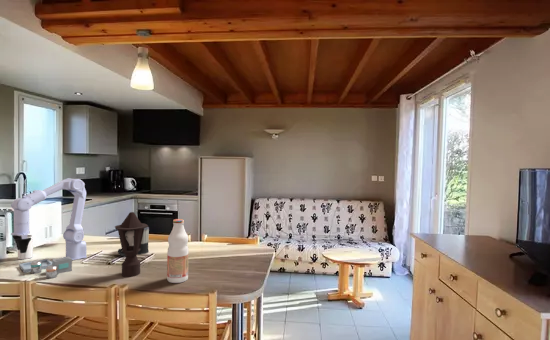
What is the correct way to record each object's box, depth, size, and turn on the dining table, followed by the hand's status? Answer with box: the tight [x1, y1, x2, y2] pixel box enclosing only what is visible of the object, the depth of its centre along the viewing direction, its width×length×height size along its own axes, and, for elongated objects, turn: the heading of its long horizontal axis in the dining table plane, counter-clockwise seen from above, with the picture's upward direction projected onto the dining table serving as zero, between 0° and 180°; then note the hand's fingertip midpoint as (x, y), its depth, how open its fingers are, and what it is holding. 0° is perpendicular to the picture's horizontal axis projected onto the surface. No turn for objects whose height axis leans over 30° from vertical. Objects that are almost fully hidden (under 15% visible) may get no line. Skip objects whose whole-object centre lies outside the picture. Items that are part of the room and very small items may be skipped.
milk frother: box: [117, 226, 150, 257], centre depth 184 cm, size 14×16×15 cm
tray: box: [18, 258, 52, 274], centre depth 158 cm, size 12×12×2 cm
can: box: [17, 234, 34, 261], centre depth 172 cm, size 6×6×12 cm
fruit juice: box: [166, 218, 189, 284], centre depth 146 cm, size 9×9×28 cm
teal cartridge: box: [30, 260, 42, 275], centre depth 151 cm, size 4×4×5 cm
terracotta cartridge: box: [45, 265, 58, 280], centre depth 146 cm, size 4×4×5 cm
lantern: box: [114, 211, 149, 278], centre depth 152 cm, size 15×15×30 cm
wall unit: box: [51, 256, 73, 275], centre depth 153 cm, size 7×5×6 cm
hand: (21, 251), depth 151 cm, fingers open, 7 cm apart
